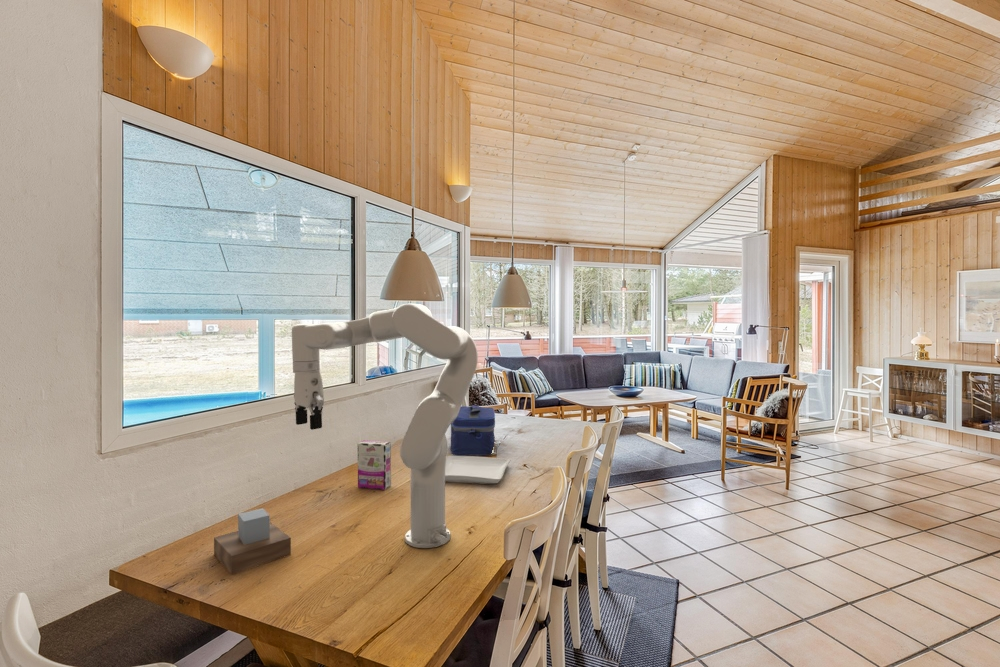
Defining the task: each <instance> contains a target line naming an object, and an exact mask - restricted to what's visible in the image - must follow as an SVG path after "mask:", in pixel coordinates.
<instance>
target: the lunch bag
mask: <svg viewBox="0 0 1000 667" xmlns="http://www.w3.org/2000/svg"><path fill="white" fill-rule="evenodd" d="M495 428H496V415H495V408H493V407H482V406H480V405H475V404H472V405H470V406H469V405H468V406H464V405H463V406H462V405H461V408H460V410H459V413H458V416H457V418H456V419H455V421H454V422H453V423H451V424H450V453H451V455H452V456H489V455H490V454H491V453H492V450H493V447H494V446H495V443H496V437H495ZM494 442H495V443H494ZM491 455H492V454H491ZM491 455H490V456H491Z"/></svg>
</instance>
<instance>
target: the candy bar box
mask: <svg viewBox="0 0 1000 667" xmlns="http://www.w3.org/2000/svg"><path fill="white" fill-rule="evenodd" d="M391 486H392V442H391V441H382V440H380V441H379V440H361V441H360V442H358V443H357V488H358V489H359V488H361V489H369V490H380V491H385V490H387V489H389V488H390V487H391Z"/></svg>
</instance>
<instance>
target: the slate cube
mask: <svg viewBox="0 0 1000 667" xmlns="http://www.w3.org/2000/svg"><path fill="white" fill-rule="evenodd" d="M237 520H238V521H237V525H238V530H237V531H238V537H239V538H240V540H241V541H242V543H243V544H244V545H246V544H250V543H254V542H257V541H261V540H265V539H268V538H270V522H271V521H270V514H269V513H268V512H267V511H266V509H264V508H263V507H262V508H257V509H254V510H253V509H252V510H248V511H244V512H240V513H237Z"/></svg>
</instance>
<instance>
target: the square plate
mask: <svg viewBox="0 0 1000 667" xmlns="http://www.w3.org/2000/svg"><path fill="white" fill-rule="evenodd" d="M510 462H511V459H510V458H501V457H500V458H499V457H487V456H476V455H446V465H445V482H449V483H466V484H467V483H468V484H481V485H482V484H485V485H488V484H498V483H499V482H500V481H501V480H502V478H503V477H504V474H505V471H506V470H507V467H508V465H509V464H510Z"/></svg>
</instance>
